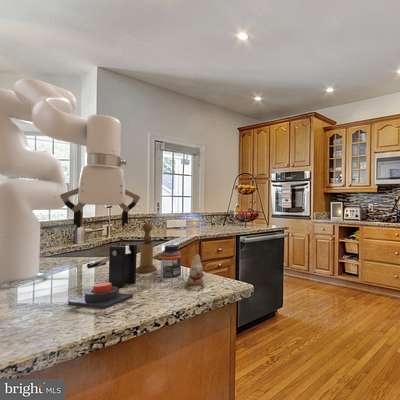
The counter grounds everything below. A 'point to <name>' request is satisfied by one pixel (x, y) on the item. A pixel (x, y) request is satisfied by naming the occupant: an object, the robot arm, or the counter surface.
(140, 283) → the counter surface
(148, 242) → the brown chess piece
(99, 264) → the lever
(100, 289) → the button
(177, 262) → the supplement bottle
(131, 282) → the bracket
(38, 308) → the counter surface
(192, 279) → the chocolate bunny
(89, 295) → the button box
